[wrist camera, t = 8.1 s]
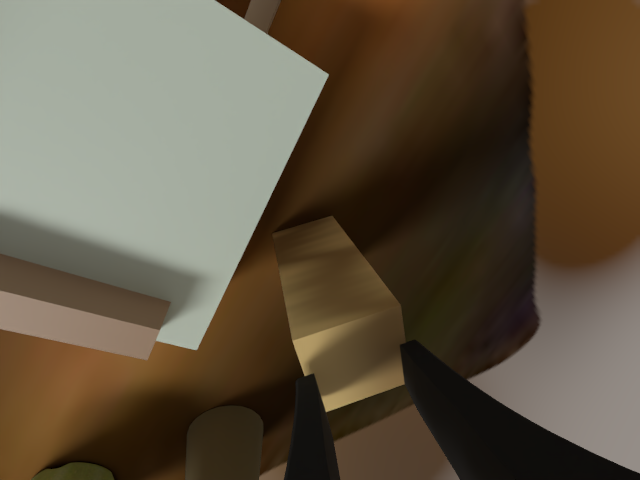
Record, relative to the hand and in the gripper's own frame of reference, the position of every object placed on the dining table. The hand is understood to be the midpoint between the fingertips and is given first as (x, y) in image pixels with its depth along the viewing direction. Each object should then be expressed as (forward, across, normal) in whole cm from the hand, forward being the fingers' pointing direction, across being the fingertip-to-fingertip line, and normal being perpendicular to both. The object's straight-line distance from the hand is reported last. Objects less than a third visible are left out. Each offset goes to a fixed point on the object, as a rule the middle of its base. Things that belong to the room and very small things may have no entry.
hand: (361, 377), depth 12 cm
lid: (+6, +7, -9) cm, 13 cm away
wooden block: (+10, 0, 0) cm, 10 cm away
